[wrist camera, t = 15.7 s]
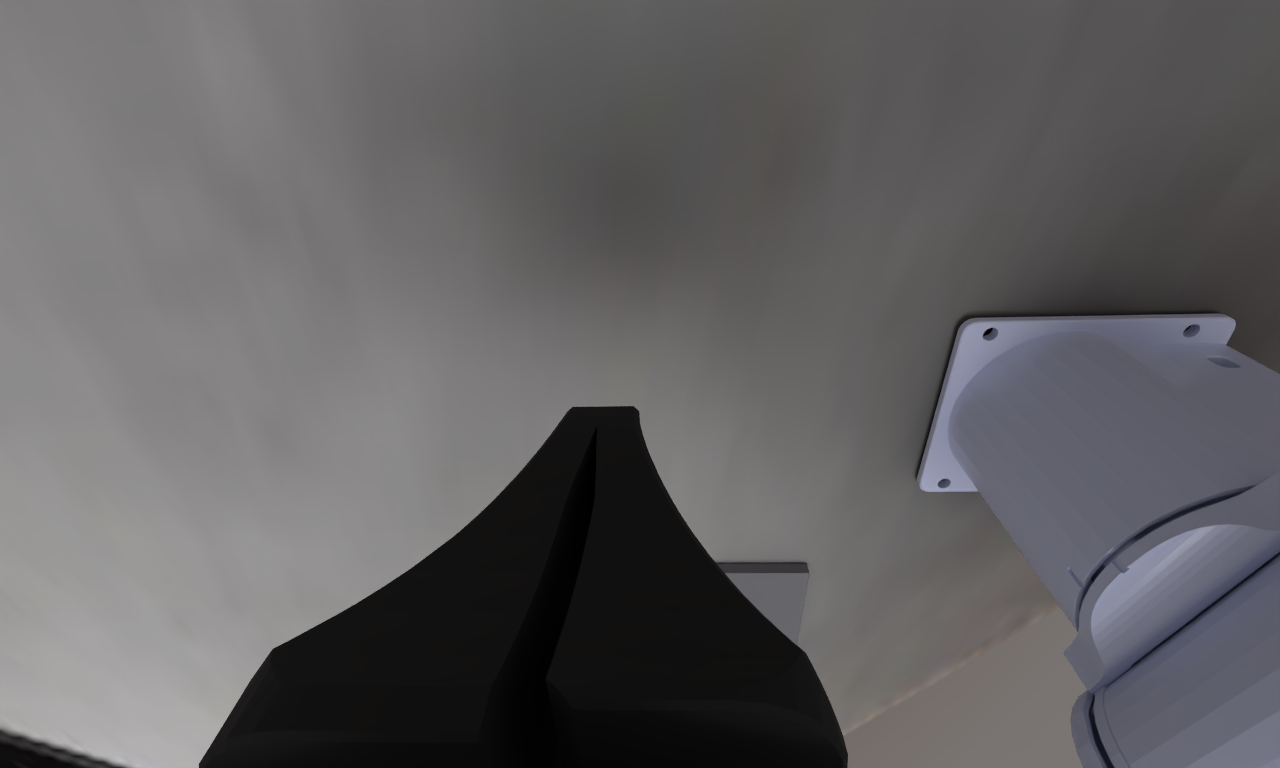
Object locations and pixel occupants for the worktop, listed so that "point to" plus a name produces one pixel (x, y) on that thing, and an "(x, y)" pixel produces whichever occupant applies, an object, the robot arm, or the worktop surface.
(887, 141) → the worktop surface
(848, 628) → the worktop surface
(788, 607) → the rubber mat
